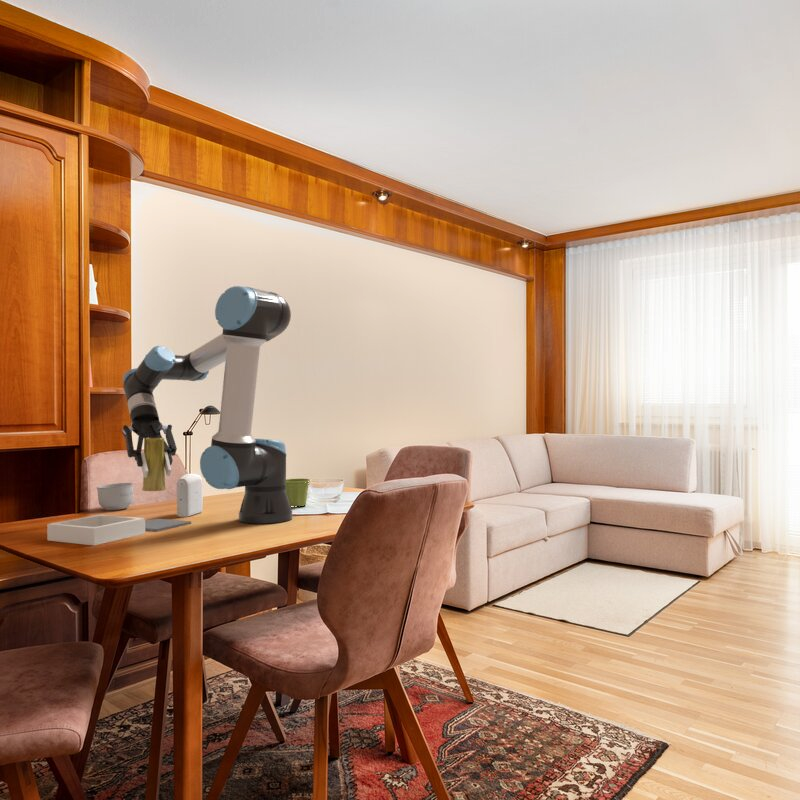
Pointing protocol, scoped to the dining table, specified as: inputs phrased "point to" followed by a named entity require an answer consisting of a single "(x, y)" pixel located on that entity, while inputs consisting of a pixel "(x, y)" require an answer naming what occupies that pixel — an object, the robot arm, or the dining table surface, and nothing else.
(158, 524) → the mat
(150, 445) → the vase
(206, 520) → the dining table surface
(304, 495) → the plant pot
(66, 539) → the tub
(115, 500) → the teacup
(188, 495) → the photo printer
